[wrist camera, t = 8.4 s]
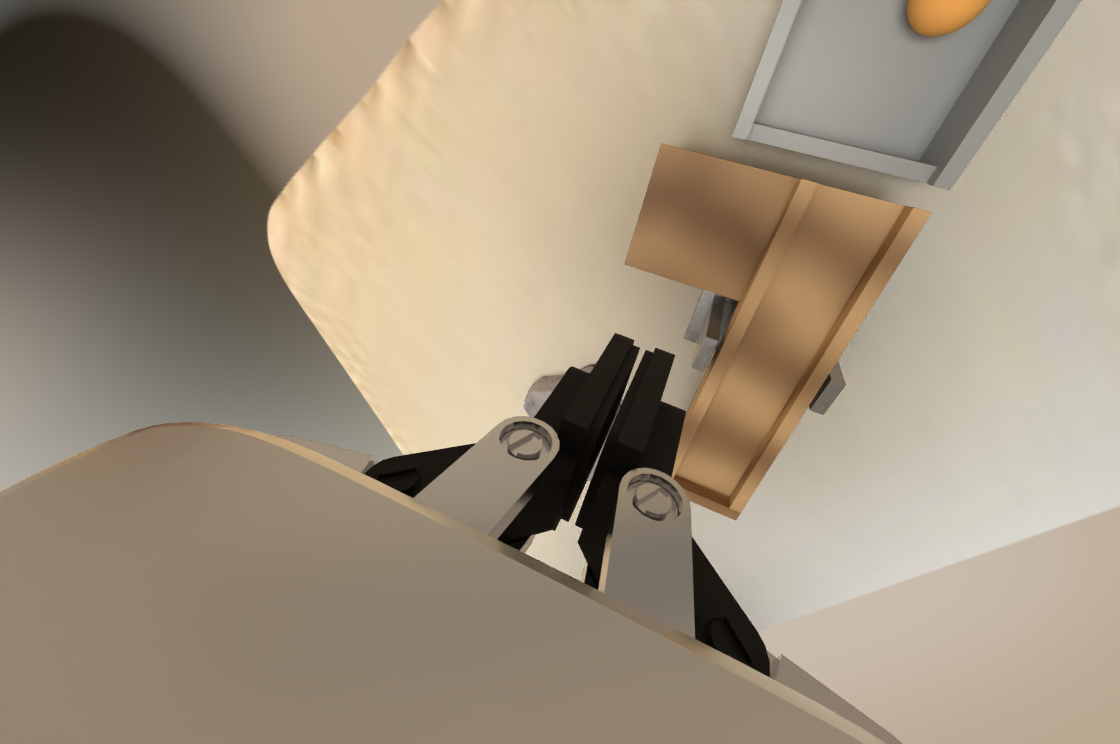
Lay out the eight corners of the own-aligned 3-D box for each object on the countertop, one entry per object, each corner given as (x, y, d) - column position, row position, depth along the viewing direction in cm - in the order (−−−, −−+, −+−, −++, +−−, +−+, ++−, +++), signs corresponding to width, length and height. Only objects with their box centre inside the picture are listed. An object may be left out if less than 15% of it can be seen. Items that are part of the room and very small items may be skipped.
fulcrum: (808, 378, 33) (821, 440, 27) (684, 335, 35) (670, 383, 29) (854, 311, 29) (880, 365, 23) (713, 267, 31) (703, 306, 25)
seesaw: (735, 485, 34) (735, 520, 31) (581, 422, 37) (566, 447, 33) (902, 206, 23) (932, 212, 20) (667, 146, 26) (658, 142, 23)
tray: (921, 178, 25) (961, 195, 20) (734, 132, 27) (730, 138, 22) (1095, -92, 18) (1216, -163, 13) (831, -123, 20) (854, -192, 16)
